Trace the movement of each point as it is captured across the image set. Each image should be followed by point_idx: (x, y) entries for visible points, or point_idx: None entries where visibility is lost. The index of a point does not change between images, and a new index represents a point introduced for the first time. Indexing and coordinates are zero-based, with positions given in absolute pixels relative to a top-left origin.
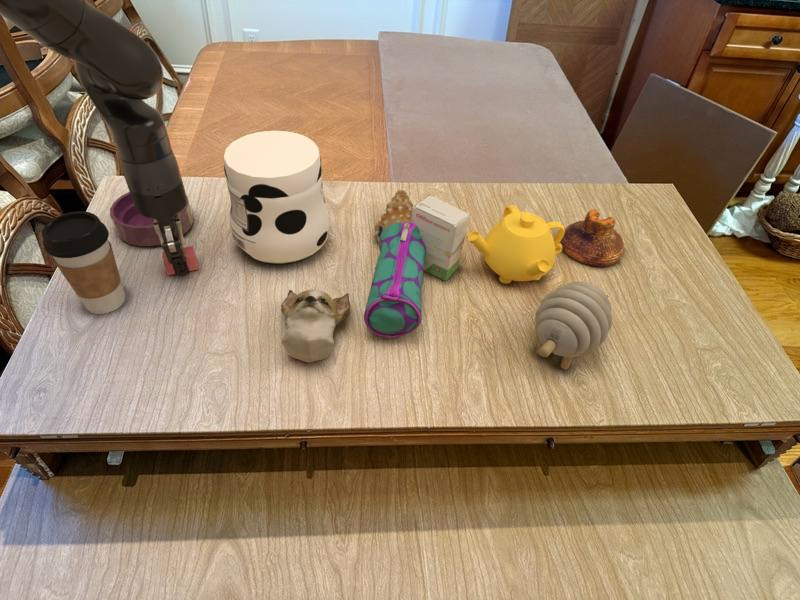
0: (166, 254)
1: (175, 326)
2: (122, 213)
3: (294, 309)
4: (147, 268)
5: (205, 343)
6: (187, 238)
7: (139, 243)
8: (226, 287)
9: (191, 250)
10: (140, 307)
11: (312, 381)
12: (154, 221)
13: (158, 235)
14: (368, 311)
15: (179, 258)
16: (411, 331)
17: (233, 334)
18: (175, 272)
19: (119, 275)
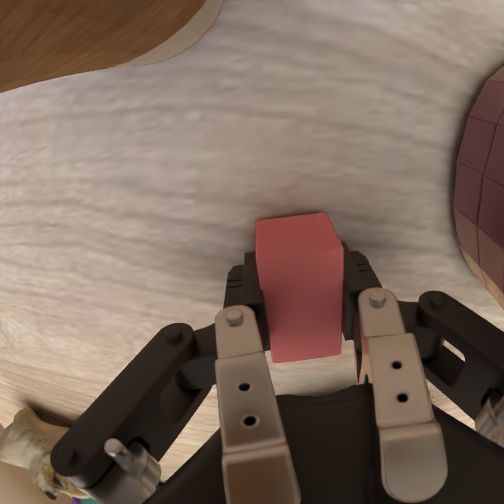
0: (89, 410)
1: (33, 249)
2: None
3: (42, 471)
4: (336, 130)
5: (10, 308)
6: (452, 269)
7: (475, 118)
8: None
9: (311, 352)
10: (96, 131)
11: (10, 404)
12: (379, 458)
13: (222, 443)
14: (72, 499)
15: (174, 379)
16: None
17: (43, 354)
18: (245, 261)
19: (110, 65)
